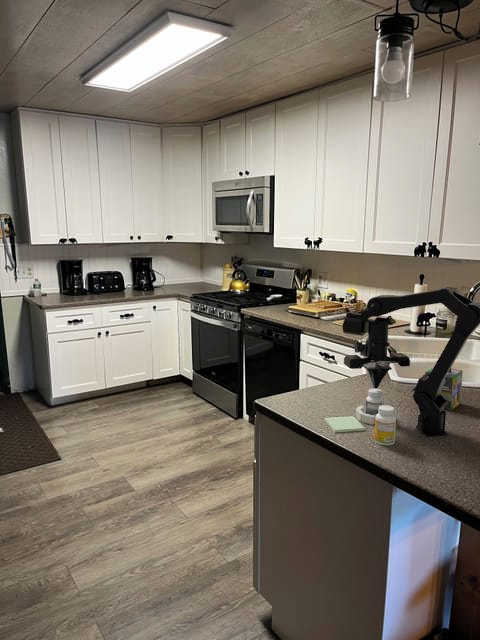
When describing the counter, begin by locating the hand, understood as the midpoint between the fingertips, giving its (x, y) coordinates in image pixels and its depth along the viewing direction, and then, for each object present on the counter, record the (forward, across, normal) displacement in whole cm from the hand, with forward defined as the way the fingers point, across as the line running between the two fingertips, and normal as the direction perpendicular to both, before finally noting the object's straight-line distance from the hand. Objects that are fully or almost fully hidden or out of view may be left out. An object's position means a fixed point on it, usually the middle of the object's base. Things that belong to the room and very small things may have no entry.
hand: (375, 388), depth 145 cm
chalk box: (+10, -27, -8) cm, 30 cm away
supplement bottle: (+10, +4, +16) cm, 19 cm away
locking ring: (+10, 0, 0) cm, 10 cm away
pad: (+10, +11, +4) cm, 15 cm away
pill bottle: (+10, 0, 0) cm, 10 cm away
